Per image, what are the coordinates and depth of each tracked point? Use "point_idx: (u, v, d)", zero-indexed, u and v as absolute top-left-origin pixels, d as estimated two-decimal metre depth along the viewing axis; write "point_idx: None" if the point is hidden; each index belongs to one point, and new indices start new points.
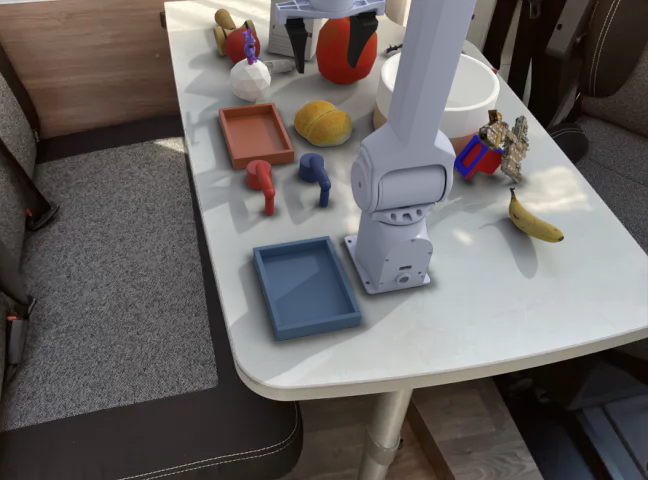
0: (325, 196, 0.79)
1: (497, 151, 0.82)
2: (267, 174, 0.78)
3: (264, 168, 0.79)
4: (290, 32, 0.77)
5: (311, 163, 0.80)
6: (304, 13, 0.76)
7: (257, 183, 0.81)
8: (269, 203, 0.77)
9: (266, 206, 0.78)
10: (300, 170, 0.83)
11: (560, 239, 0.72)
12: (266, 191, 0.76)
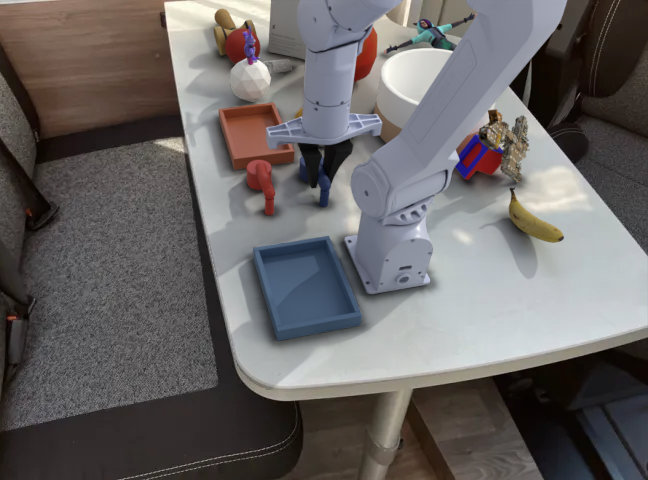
0: (325, 196, 0.79)
1: (497, 151, 0.82)
2: (267, 174, 0.78)
3: (264, 168, 0.79)
4: (303, 155, 0.74)
5: None
6: (296, 139, 0.72)
7: (257, 183, 0.81)
8: (269, 203, 0.77)
9: (266, 206, 0.78)
10: (300, 170, 0.83)
11: (560, 239, 0.72)
12: (266, 191, 0.76)
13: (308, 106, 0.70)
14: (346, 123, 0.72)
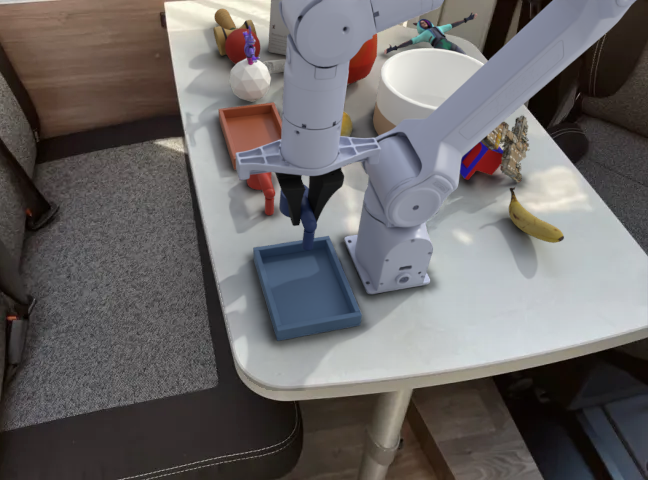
0: (309, 238, 0.64)
1: (497, 151, 0.82)
2: (267, 174, 0.78)
3: None
4: (282, 187, 0.59)
5: None
6: (272, 168, 0.58)
7: (257, 183, 0.81)
8: (269, 203, 0.77)
9: (266, 206, 0.78)
10: (280, 203, 0.68)
11: (560, 239, 0.72)
12: (266, 191, 0.76)
13: (287, 128, 0.55)
14: (336, 149, 0.57)
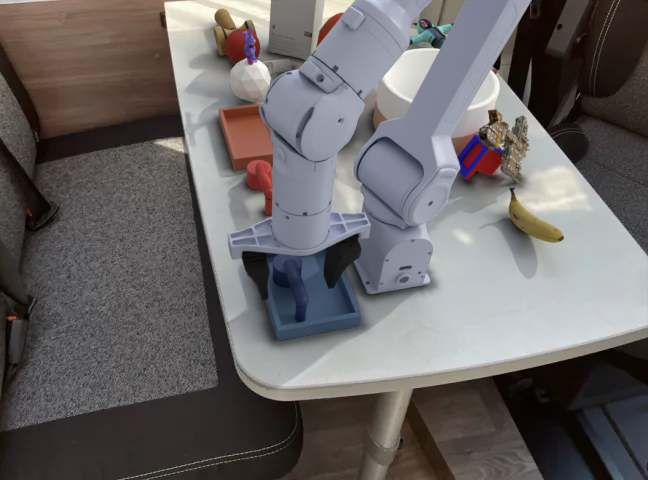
0: (301, 312, 0.65)
1: (497, 151, 0.82)
2: (267, 174, 0.78)
3: (264, 168, 0.79)
4: (247, 270, 0.59)
5: (285, 269, 0.67)
6: (264, 249, 0.58)
7: (257, 183, 0.81)
8: (269, 203, 0.77)
9: (266, 206, 0.78)
10: (273, 273, 0.70)
11: (560, 239, 0.72)
12: (266, 191, 0.76)
13: (277, 213, 0.56)
14: (326, 230, 0.58)
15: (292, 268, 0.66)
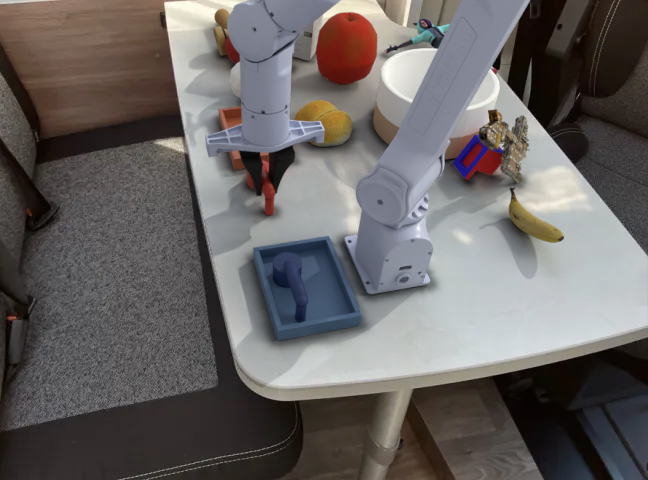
0: (301, 312, 0.65)
1: (497, 151, 0.82)
2: (267, 174, 0.78)
3: (264, 168, 0.79)
4: (244, 162, 0.72)
5: (285, 269, 0.67)
6: (235, 147, 0.71)
7: None
8: (269, 203, 0.77)
9: (266, 206, 0.78)
10: (273, 273, 0.70)
11: (560, 239, 0.72)
12: (266, 191, 0.76)
13: (245, 113, 0.68)
14: (286, 130, 0.71)
15: (292, 268, 0.66)
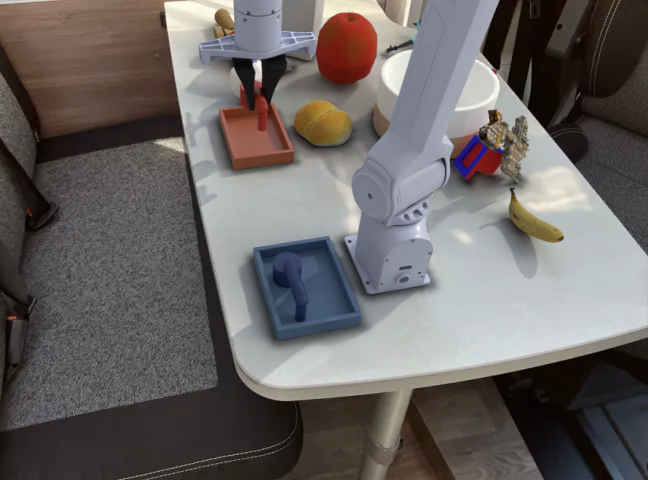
0: (301, 312, 0.65)
1: (497, 151, 0.82)
2: (260, 90, 0.79)
3: (257, 85, 0.80)
4: (236, 70, 0.73)
5: (285, 269, 0.67)
6: (228, 53, 0.72)
7: None
8: (262, 117, 0.78)
9: (259, 121, 0.79)
10: (273, 273, 0.70)
11: (560, 239, 0.72)
12: (259, 105, 0.77)
13: (237, 17, 0.70)
14: (278, 37, 0.72)
15: (292, 268, 0.66)
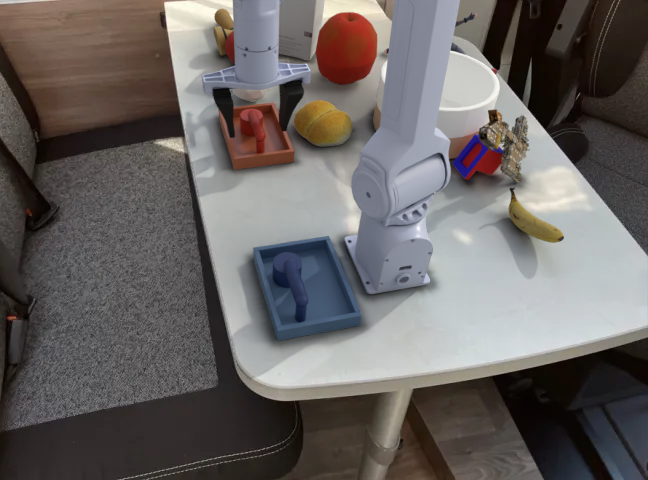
0: (301, 312, 0.65)
1: (497, 151, 0.82)
2: (258, 119, 0.85)
3: (256, 114, 0.86)
4: (216, 102, 0.79)
5: (285, 269, 0.67)
6: (229, 84, 0.78)
7: (250, 130, 0.88)
8: (260, 145, 0.84)
9: (257, 148, 0.85)
10: (273, 273, 0.70)
11: (560, 239, 0.72)
12: (257, 134, 0.83)
13: (238, 52, 0.76)
14: (275, 69, 0.78)
15: (292, 268, 0.66)
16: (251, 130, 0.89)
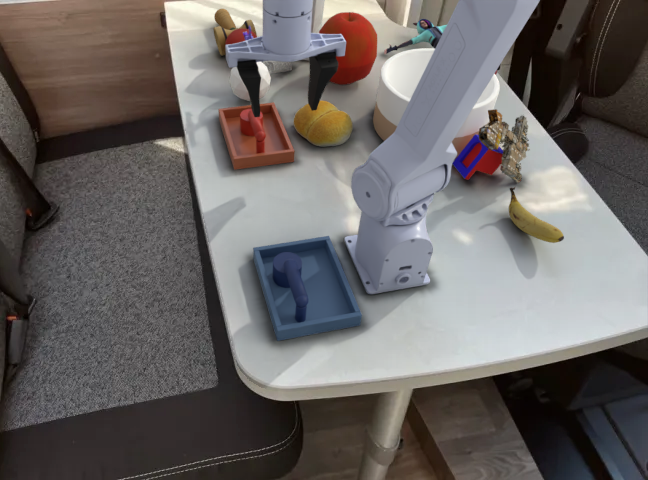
0: (301, 312, 0.65)
1: (497, 151, 0.82)
2: (258, 119, 0.85)
3: None
4: (241, 76, 0.71)
5: (285, 269, 0.67)
6: (256, 56, 0.70)
7: (250, 130, 0.88)
8: (260, 145, 0.84)
9: (257, 148, 0.85)
10: (273, 273, 0.70)
11: (560, 239, 0.72)
12: (257, 134, 0.83)
13: (267, 19, 0.68)
14: (307, 39, 0.70)
15: (292, 268, 0.66)
16: (251, 130, 0.89)
